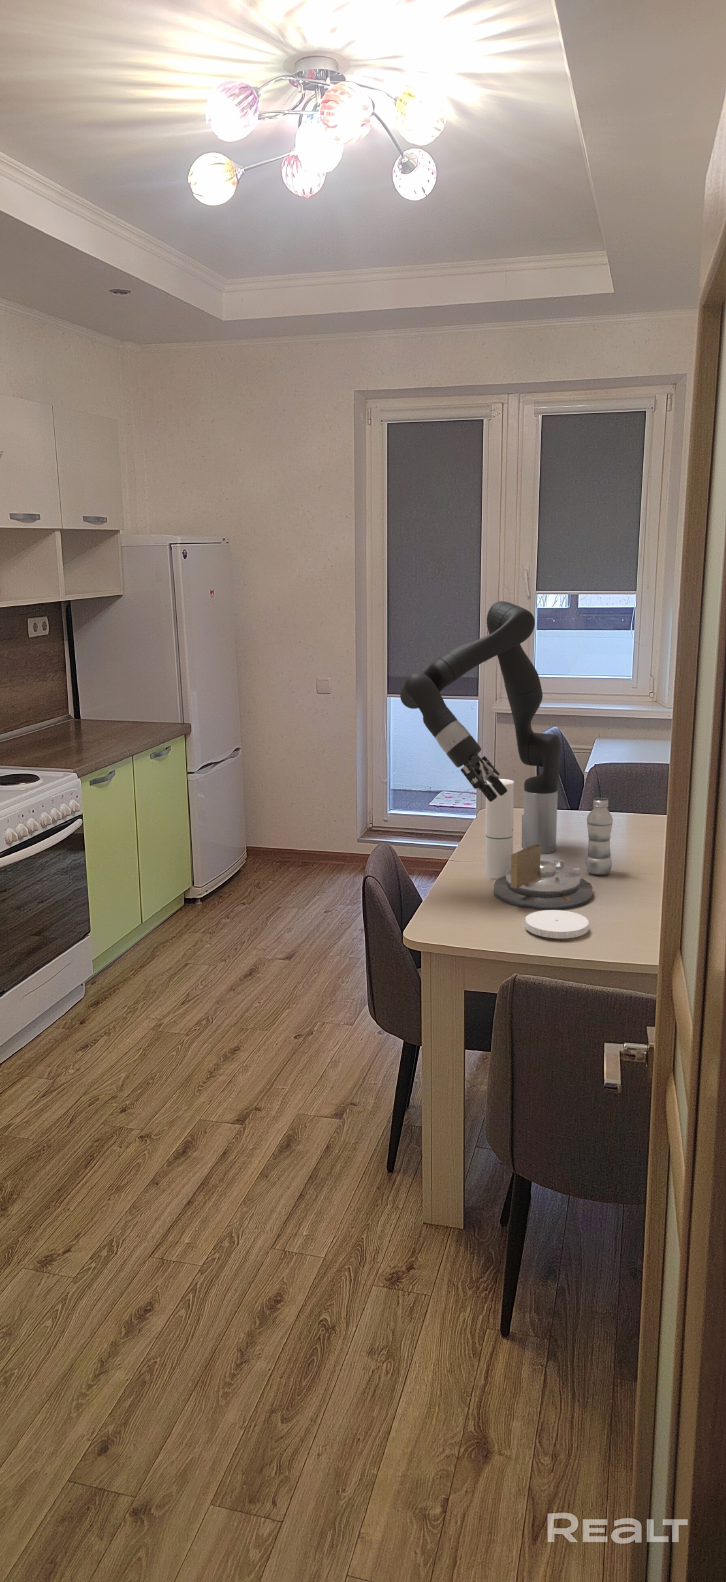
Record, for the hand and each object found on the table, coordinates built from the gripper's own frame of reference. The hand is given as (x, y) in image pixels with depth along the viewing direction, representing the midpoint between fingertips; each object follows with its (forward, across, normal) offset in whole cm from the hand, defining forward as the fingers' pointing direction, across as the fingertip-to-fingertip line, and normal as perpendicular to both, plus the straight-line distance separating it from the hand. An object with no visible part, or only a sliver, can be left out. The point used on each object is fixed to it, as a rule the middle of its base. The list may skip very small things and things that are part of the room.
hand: (499, 796), depth 249 cm
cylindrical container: (+15, +19, +20) cm, 31 cm away
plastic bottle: (+31, +29, +2) cm, 42 cm away
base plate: (+25, +8, +10) cm, 28 cm away
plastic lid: (+32, -15, +4) cm, 36 cm away
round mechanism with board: (+23, +5, +9) cm, 25 cm away
